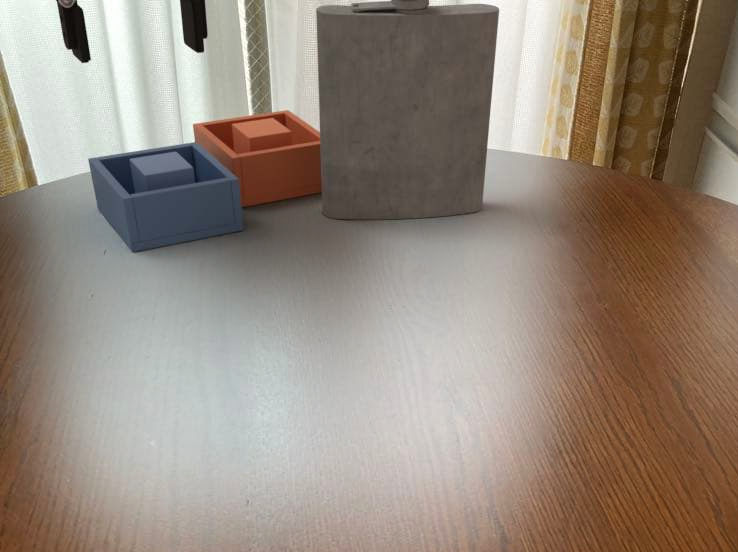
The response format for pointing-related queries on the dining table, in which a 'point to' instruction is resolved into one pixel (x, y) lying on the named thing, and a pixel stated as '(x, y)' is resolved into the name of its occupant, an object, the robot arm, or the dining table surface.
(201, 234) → the blue bin
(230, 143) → the terracotta bin
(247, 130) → the terracotta block
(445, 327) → the dining table surface
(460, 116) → the hip flask
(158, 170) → the blue block
